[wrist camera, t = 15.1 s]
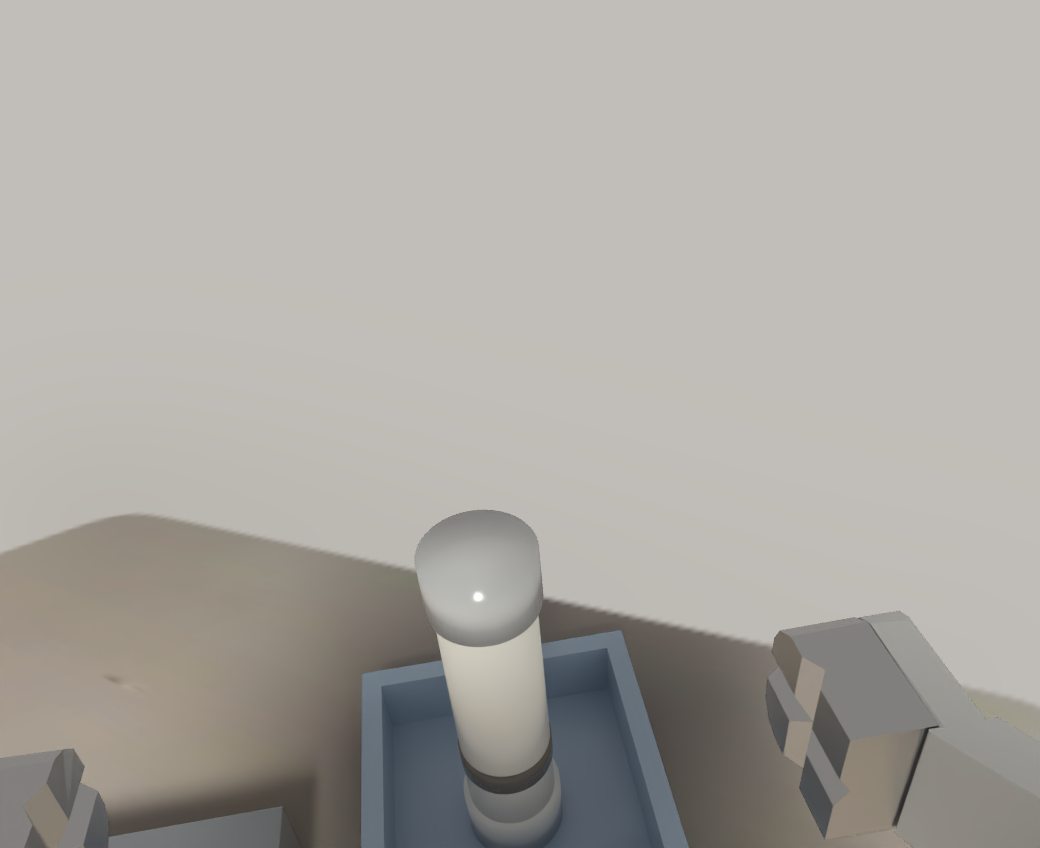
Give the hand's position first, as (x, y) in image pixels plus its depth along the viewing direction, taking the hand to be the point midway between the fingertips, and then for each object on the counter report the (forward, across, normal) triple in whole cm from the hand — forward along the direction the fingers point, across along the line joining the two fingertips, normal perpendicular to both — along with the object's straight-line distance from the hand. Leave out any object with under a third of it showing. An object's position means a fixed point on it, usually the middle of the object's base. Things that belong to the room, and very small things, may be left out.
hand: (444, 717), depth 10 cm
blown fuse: (+13, -2, +22) cm, 26 cm away
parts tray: (+13, -2, +23) cm, 26 cm away
